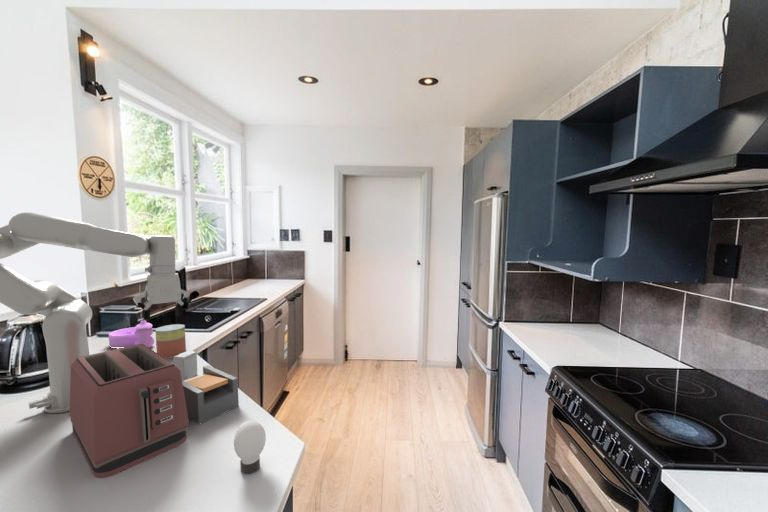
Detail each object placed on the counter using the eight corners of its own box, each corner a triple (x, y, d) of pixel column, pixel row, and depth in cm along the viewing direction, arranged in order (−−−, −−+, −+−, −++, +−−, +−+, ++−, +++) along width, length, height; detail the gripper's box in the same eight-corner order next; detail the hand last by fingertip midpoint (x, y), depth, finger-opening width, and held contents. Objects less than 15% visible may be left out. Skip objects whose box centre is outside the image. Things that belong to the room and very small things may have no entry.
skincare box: (184, 391, 113) (183, 357, 112) (174, 390, 114) (172, 356, 113) (198, 384, 119) (197, 351, 118) (188, 382, 120) (187, 350, 119)
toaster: (98, 488, 70) (91, 395, 69) (69, 429, 92) (64, 357, 90) (194, 443, 85) (190, 366, 84) (150, 402, 107) (147, 339, 105)
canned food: (191, 352, 151) (189, 326, 151) (164, 360, 142) (162, 332, 141) (178, 347, 157) (177, 323, 157) (151, 355, 148) (150, 328, 147)
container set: (103, 346, 161) (101, 319, 160) (138, 337, 174) (136, 312, 174) (131, 354, 150) (129, 325, 149) (166, 344, 163) (164, 317, 162)
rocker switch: (203, 398, 96) (202, 388, 96) (179, 391, 104) (178, 381, 104) (228, 388, 102) (227, 378, 102) (204, 382, 111) (203, 373, 111)
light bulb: (229, 479, 73) (227, 430, 72) (242, 458, 79) (240, 413, 78) (260, 478, 73) (258, 430, 72) (270, 457, 79) (269, 413, 79)
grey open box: (199, 424, 94) (197, 393, 93) (170, 405, 104) (168, 377, 103) (238, 406, 103) (237, 377, 103) (208, 390, 114) (207, 365, 113)
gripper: (136, 272, 108) (137, 324, 108) (193, 269, 121) (193, 315, 122) (129, 271, 112) (130, 321, 113) (184, 268, 126) (185, 312, 127)
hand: (163, 318), depth 118 cm, fingers open, 9 cm apart
